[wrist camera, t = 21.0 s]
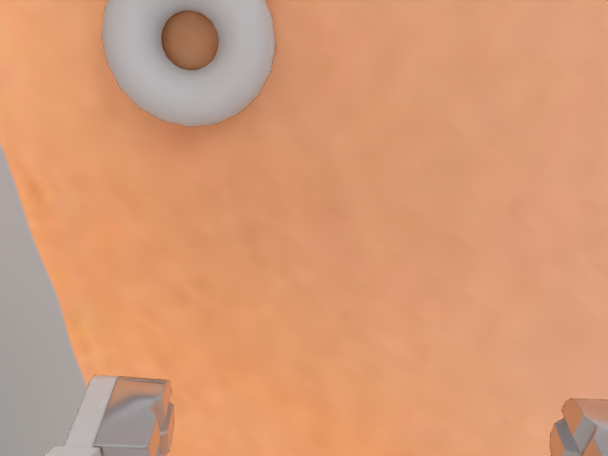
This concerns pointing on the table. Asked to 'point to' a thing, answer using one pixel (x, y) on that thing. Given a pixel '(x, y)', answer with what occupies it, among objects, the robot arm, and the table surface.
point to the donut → (181, 82)
